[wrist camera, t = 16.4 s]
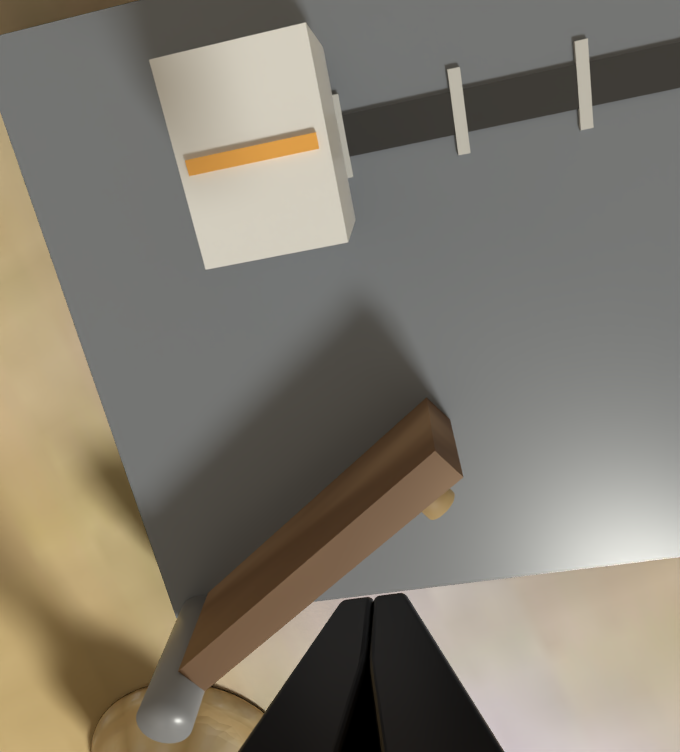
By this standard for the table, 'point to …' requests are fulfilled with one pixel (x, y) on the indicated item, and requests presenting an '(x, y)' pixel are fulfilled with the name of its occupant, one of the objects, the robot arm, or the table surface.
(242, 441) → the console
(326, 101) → the fader
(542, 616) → the table surface
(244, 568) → the door
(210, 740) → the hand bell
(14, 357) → the table surface
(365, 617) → the robot arm
